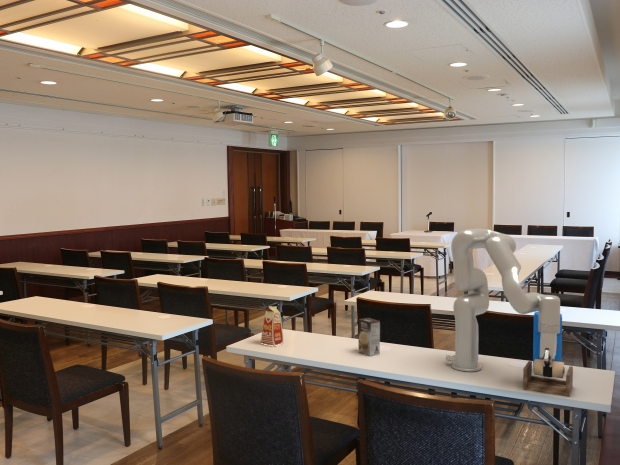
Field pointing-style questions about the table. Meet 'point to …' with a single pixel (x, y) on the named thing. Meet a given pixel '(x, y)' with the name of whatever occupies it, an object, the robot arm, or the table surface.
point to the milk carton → (272, 327)
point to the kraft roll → (556, 366)
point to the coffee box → (369, 336)
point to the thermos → (538, 335)
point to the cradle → (547, 382)
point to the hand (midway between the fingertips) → (548, 374)
